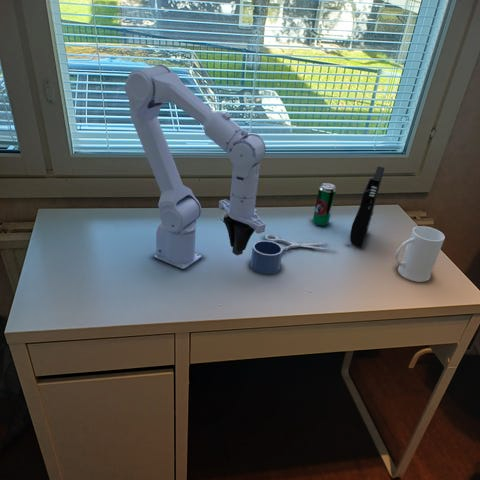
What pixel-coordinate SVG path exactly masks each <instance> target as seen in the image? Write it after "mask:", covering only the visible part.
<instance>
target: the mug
mask: <svg viewBox="0 0 480 480" xmlns="http://www.w3.org/2000/svg"><path fill="white" fill-rule="evenodd" d="M445 239H446V237H445V234H444V233H443V232H442V231H440V230H438V229H436V228H434V227H430V226H424V225H419V226H414V227H413V228H412V229H411V233H410V236H409V239H407V240H405V241H404V242H403V243H401V244H400V246H399V247H398V248H397V250H396V252H395V260H396V263H397V264H398V267H397V272H398V274H400V275H401V276H402V278H404V279H407V280H409V281H412V282H416V283H423V282H427V281H429V280H430V279H431V276H432V271H433V269H434V268H435V264H436V262H437V259H438V256H439V254H440V251H441V249H442V246H443V244H444V242H445ZM405 246H406V248H405V250H404V252H403V256H402V259H401V260H400V259H399V255H400V252H401V250H402V249H403V248H404V247H405Z"/></svg>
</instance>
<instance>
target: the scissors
mask: <svg viewBox="0 0 480 480" xmlns="http://www.w3.org/2000/svg"><path fill="white" fill-rule="evenodd" d="M264 239H265V240H264V241H272V242H275V243H278V242H279V243H284V244H286V245H287V246H284V247H283V246H282V248H283V251H282V252H284V251H288V250H290V249H296V248H297V249H298V248H307V249H308V248H309V249H317V250H325V251H326V250H327V251H332V249H330V248H325V247H319V246H314V245H324V242H303V243H301V242H295V241H288V240H286V239H282V238H279V237H278V236H276V235H274V234H267V235H265V236H264Z"/></svg>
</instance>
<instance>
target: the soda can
mask: <svg viewBox="0 0 480 480" xmlns="http://www.w3.org/2000/svg"><path fill="white" fill-rule="evenodd" d="M336 188H337V187H336V185H334V184H332V183H328V182H323V183H321V184H320V186H319V187H318V193H317V197H316V202H315V207H314V211H313V217H312V222H313V224H314V225H316V226H319V227H326V226H328V225H329V223H330V220H331V215H332V211H333V206H334V203H335V199H336V194H337V190H336Z"/></svg>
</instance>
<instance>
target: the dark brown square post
mask: <svg viewBox="0 0 480 480" xmlns="http://www.w3.org/2000/svg"><path fill="white" fill-rule="evenodd" d="M236 241H237V238H236V232H235V229H234V239H233V247H232V250H231V251H232V252H231V253H232V254H234V255H235V256H240V255H243V253H244V250H243V251H240V252H238V251H237V248H236Z"/></svg>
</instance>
